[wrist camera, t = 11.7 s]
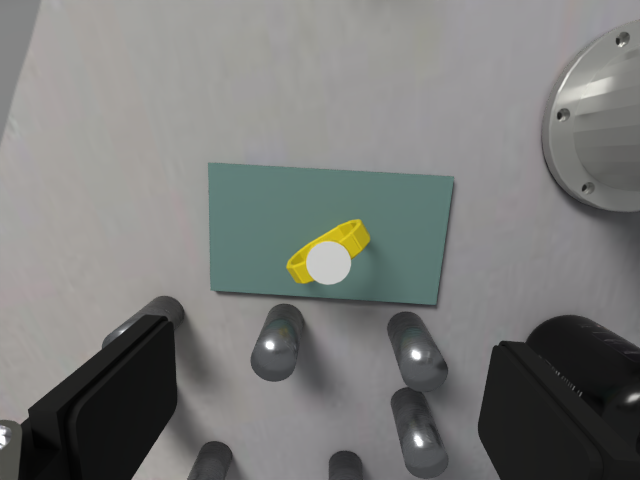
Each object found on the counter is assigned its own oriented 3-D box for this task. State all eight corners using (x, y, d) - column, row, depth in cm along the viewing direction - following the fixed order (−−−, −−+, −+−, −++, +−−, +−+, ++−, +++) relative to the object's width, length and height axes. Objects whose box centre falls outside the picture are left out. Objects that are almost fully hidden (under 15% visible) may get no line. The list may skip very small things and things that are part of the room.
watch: (350, 206, 26) (362, 215, 20) (369, 237, 26) (385, 255, 21) (283, 247, 26) (276, 268, 21) (303, 277, 27) (300, 305, 21)
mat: (451, 176, 26) (454, 176, 25) (433, 301, 28) (435, 304, 27) (211, 162, 26) (208, 162, 25) (213, 287, 28) (210, 290, 28)
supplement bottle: (575, 397, 29) (735, 554, 18) (504, 368, 29) (620, 508, 17) (621, 330, 28) (831, 453, 16) (547, 298, 27) (707, 400, 16)
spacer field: (438, 313, 28) (466, 354, 22) (413, 482, 32) (432, 555, 26) (135, 293, 28) (85, 328, 23) (147, 463, 32) (107, 529, 27)
